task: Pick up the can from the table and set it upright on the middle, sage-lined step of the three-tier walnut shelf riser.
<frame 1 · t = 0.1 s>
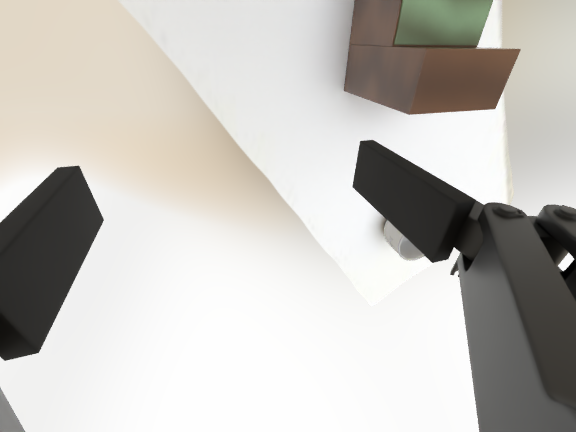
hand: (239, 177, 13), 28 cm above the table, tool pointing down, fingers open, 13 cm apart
teacup: (402, 220, 61), on the table
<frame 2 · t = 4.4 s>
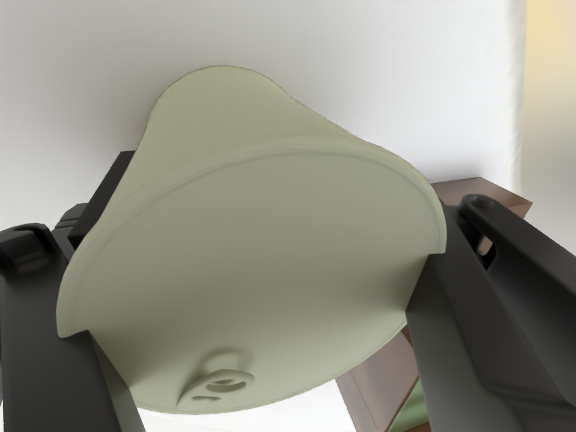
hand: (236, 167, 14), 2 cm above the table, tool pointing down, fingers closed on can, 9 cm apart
can: (232, 153, 16), on the table, touching gripper
shelf riser: (389, 285, 28), on the table
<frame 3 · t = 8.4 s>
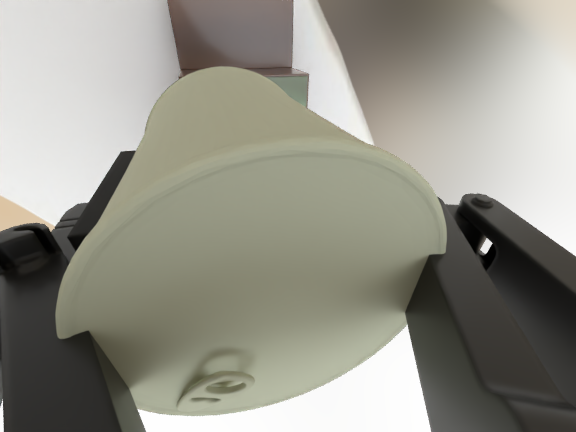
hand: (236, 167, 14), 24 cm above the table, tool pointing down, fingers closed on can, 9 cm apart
can: (231, 154, 16), point 22 cm above the table, touching gripper
shelf riser: (238, 115, 35), on the table
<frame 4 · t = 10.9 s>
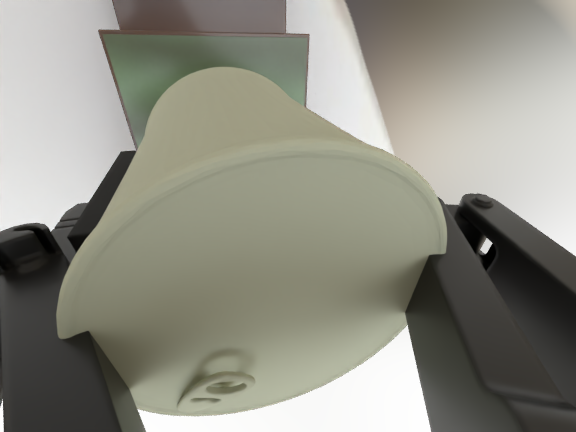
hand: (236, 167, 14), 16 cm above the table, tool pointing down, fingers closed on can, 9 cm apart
can: (232, 154, 16), point 14 cm above the table, touching gripper
shelf riser: (216, 105, 27), on the table
when the fingers open (12 cm above the table, at t = 12.5 s): can stays where it is, resting on shelf riser.
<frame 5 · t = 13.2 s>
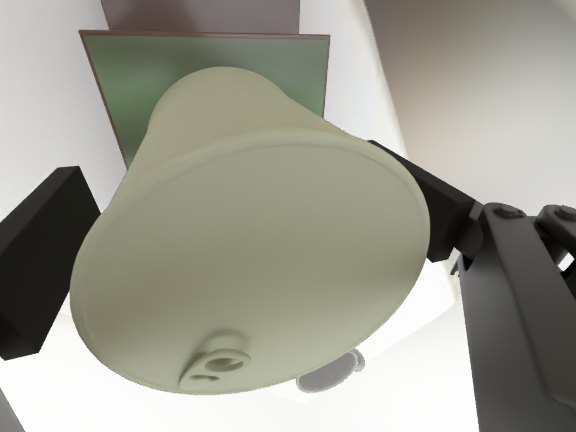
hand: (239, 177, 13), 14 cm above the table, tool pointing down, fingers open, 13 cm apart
teacup: (317, 331, 50), on the table
can: (231, 151, 16), point 10 cm above the table, touching shelf riser
shelf riser: (219, 113, 24), on the table
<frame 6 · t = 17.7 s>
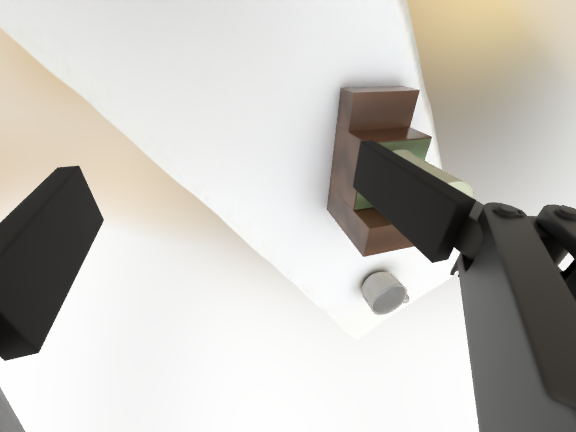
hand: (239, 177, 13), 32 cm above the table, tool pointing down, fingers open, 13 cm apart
teacup: (377, 280, 78), on the table
can: (390, 175, 44), point 10 cm above the table, touching shelf riser
shelf riser: (360, 154, 52), on the table
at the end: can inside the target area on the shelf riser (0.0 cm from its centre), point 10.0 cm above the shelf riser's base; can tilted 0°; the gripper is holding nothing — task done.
